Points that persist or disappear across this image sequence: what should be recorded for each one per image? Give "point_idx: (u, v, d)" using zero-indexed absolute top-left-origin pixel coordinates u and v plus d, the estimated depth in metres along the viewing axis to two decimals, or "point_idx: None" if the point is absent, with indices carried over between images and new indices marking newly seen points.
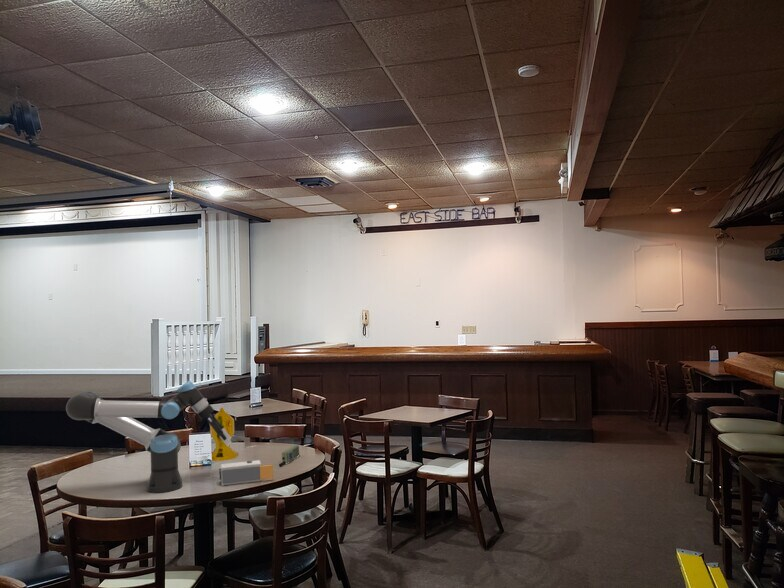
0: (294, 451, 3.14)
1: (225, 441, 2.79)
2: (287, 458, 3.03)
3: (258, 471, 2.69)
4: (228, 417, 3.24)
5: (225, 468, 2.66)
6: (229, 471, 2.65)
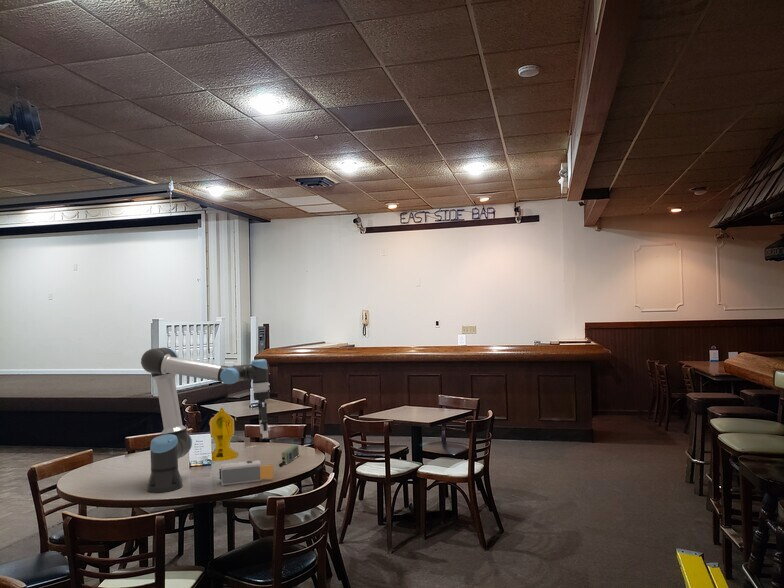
0: (294, 451, 3.14)
1: (263, 432, 2.71)
2: (287, 458, 3.03)
3: (258, 471, 2.69)
4: (228, 417, 3.24)
5: (225, 468, 2.66)
6: (229, 471, 2.65)
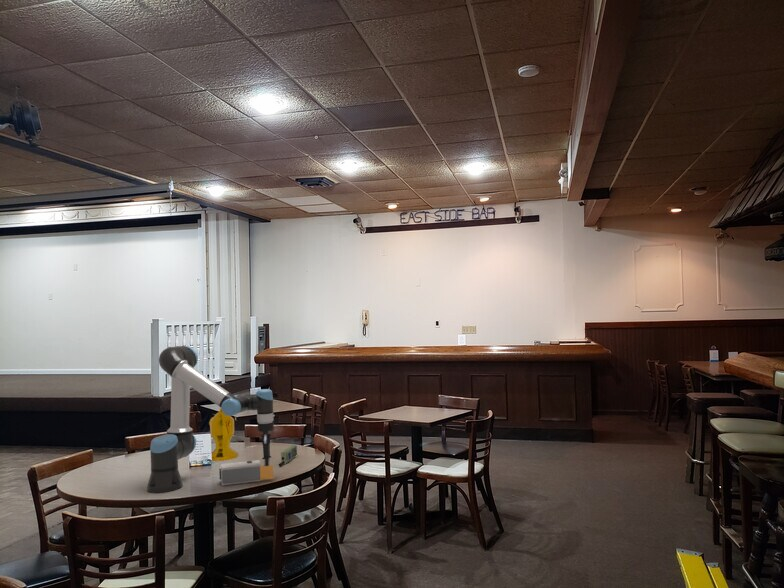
0: (292, 451, 3.14)
1: None
2: (286, 458, 3.03)
3: (258, 471, 2.68)
4: (228, 417, 3.24)
5: (225, 468, 2.66)
6: (229, 471, 2.65)
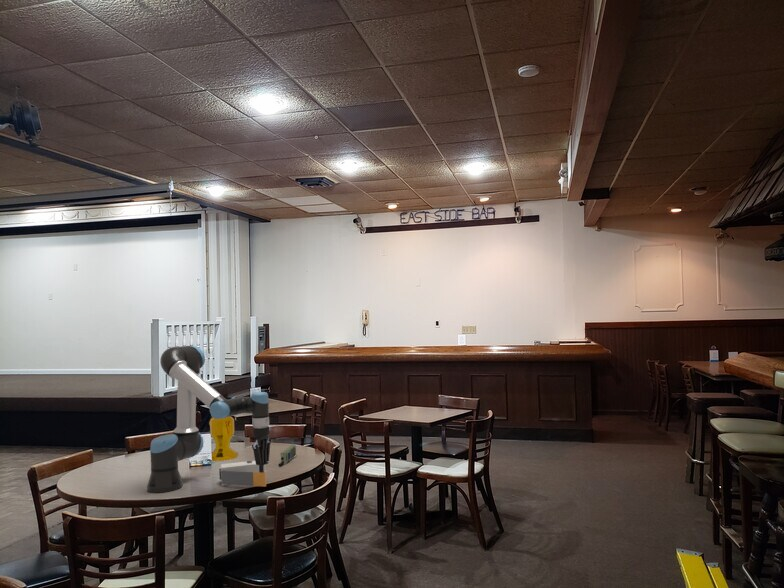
0: (292, 451, 3.14)
1: None
2: (286, 458, 3.03)
3: (251, 477, 2.59)
4: (228, 417, 3.24)
5: (225, 468, 2.66)
6: (227, 472, 2.63)
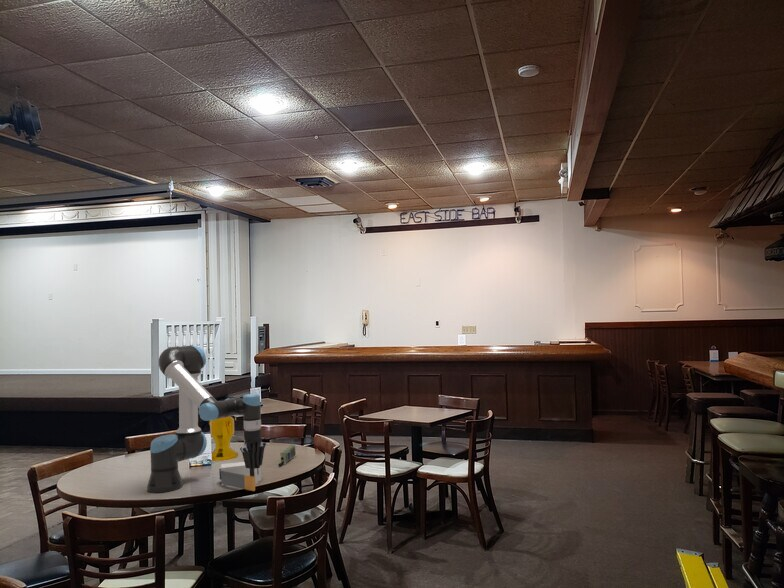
0: (291, 451, 3.14)
1: None
2: (286, 458, 3.03)
3: (243, 480, 2.54)
4: (228, 417, 3.24)
5: (225, 468, 2.66)
6: (225, 473, 2.62)
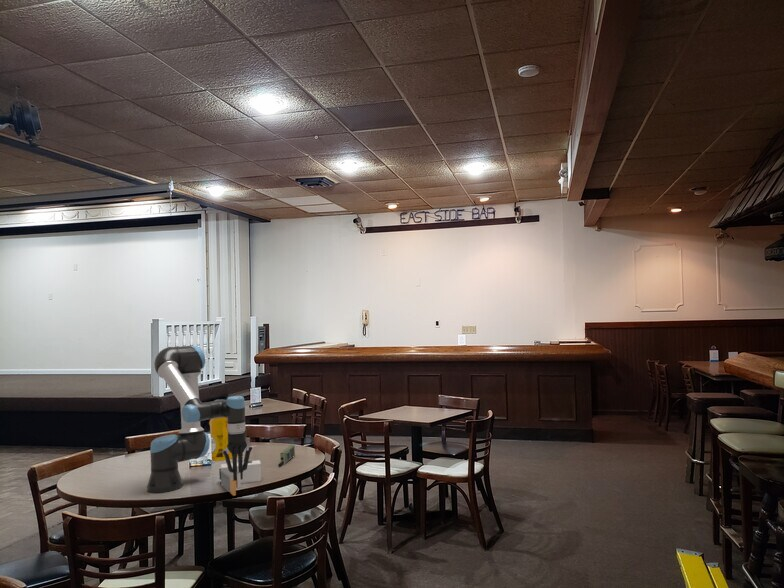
0: (291, 451, 3.14)
1: (236, 481, 2.48)
2: (285, 458, 3.03)
3: (229, 483, 2.50)
4: None
5: (225, 468, 2.66)
6: (222, 473, 2.62)
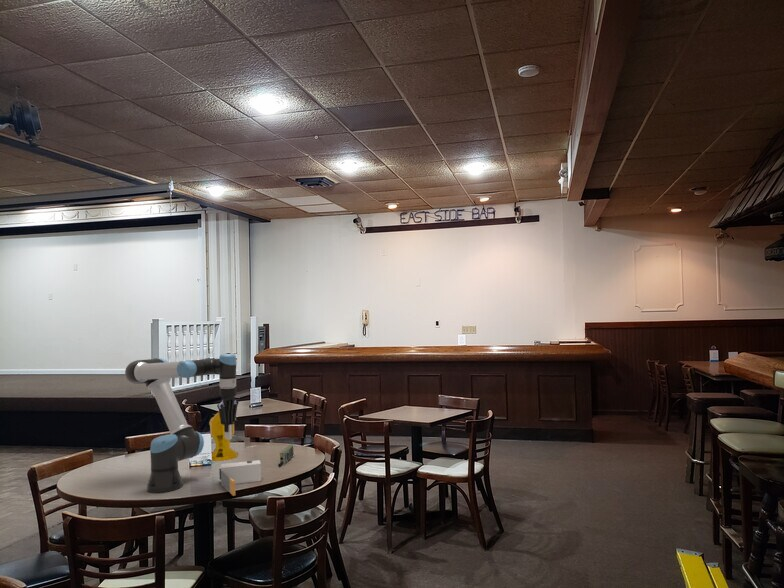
0: (290, 451, 3.14)
1: (226, 433, 2.66)
2: (285, 458, 3.03)
3: (229, 483, 2.50)
4: None
5: (225, 468, 2.66)
6: (222, 473, 2.62)
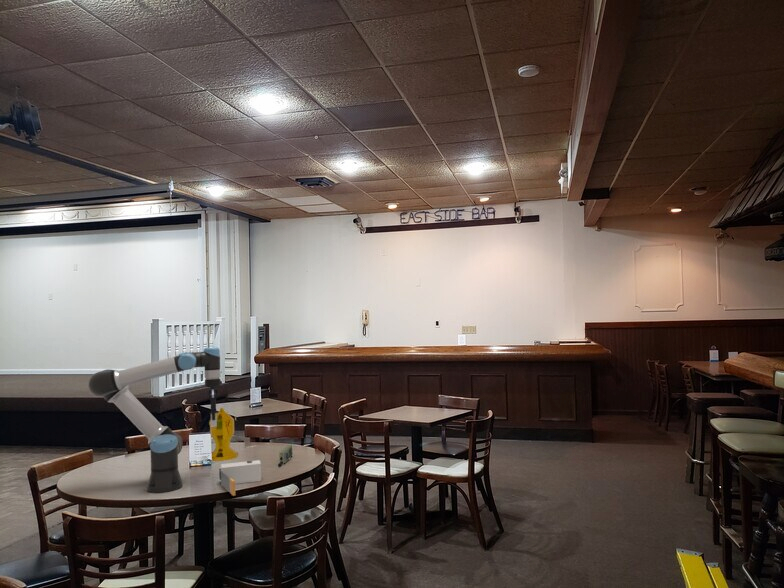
0: (289, 451, 3.14)
1: (212, 421, 2.83)
2: (284, 458, 3.03)
3: (229, 483, 2.50)
4: (228, 417, 3.24)
5: (225, 468, 2.66)
6: (222, 473, 2.62)
